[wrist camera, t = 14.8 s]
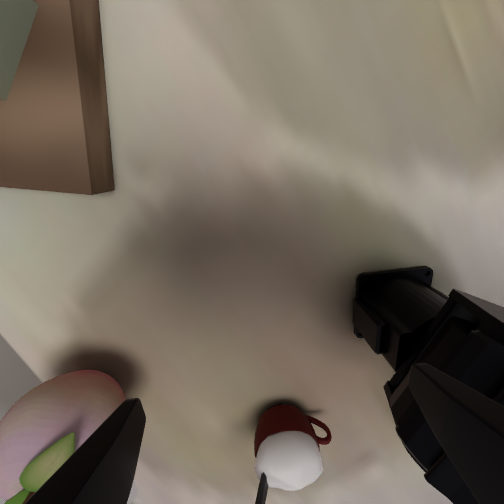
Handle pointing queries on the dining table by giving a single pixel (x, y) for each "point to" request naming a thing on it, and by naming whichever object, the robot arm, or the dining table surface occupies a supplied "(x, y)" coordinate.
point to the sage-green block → (13, 38)
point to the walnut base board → (58, 105)
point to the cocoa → (287, 450)
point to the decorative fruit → (51, 428)
